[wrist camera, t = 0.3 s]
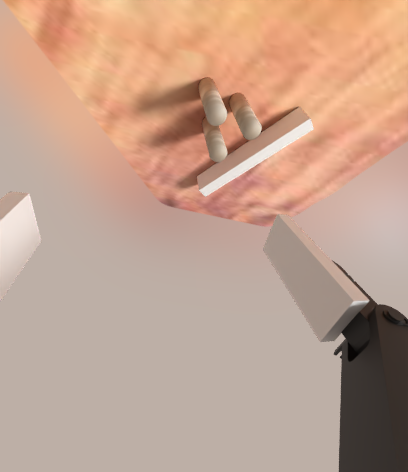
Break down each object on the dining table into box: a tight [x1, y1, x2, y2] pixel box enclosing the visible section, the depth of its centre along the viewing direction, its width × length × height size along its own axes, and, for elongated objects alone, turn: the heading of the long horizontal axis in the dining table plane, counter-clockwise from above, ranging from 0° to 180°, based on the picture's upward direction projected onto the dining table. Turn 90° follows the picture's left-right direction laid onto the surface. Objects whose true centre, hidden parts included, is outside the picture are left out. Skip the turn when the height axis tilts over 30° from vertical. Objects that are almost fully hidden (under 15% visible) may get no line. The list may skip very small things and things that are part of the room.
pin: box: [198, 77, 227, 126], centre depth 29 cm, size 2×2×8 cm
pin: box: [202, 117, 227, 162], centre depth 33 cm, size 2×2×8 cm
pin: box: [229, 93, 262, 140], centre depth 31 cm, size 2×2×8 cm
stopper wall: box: [197, 107, 314, 197], centre depth 38 cm, size 20×2×4 cm, turn 125°
